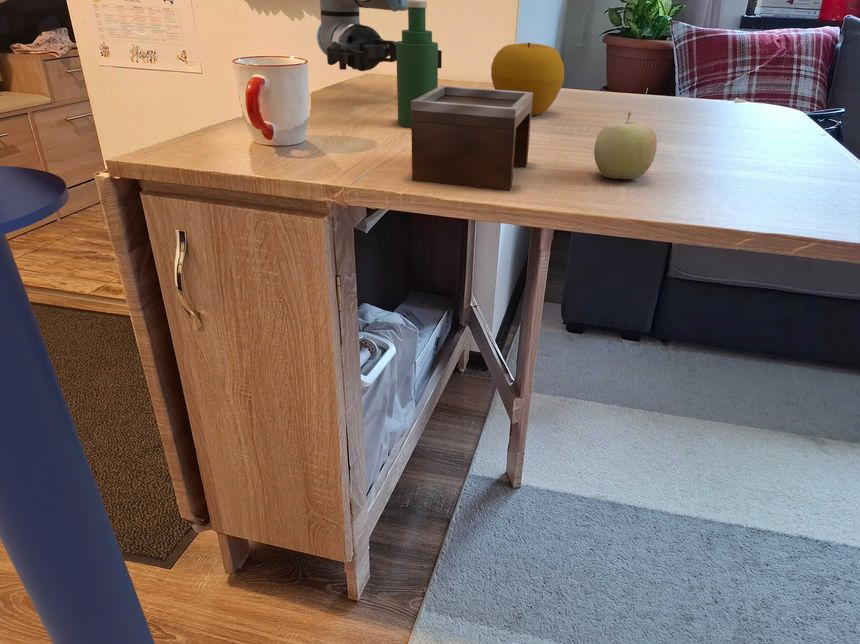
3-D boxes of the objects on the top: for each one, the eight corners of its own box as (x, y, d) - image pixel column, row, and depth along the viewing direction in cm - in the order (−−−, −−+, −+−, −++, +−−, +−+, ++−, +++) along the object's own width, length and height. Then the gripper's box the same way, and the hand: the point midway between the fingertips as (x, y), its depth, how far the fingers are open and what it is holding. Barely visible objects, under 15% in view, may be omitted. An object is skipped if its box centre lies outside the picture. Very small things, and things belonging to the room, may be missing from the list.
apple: (485, 117, 109) (488, 44, 103) (492, 103, 120) (496, 37, 114) (560, 121, 108) (567, 48, 102) (560, 107, 119) (567, 40, 113)
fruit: (646, 189, 75) (659, 119, 71) (585, 181, 78) (594, 112, 74) (654, 173, 82) (666, 108, 77) (597, 166, 84) (606, 102, 80)
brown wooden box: (411, 180, 76) (410, 100, 71) (440, 156, 86) (440, 85, 81) (510, 190, 73) (515, 109, 69) (527, 164, 83) (533, 92, 79)
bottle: (389, 123, 103) (386, -1, 94) (418, 118, 107) (417, -1, 98) (417, 130, 99) (416, 2, 90) (445, 124, 103) (447, 1, 94)
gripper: (418, 66, 126) (468, 82, 110) (294, 70, 116) (329, 88, 100) (418, 24, 122) (470, 34, 106) (289, 24, 112) (325, 35, 96)
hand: (402, 60), depth 103 cm, fingers open, 13 cm apart
